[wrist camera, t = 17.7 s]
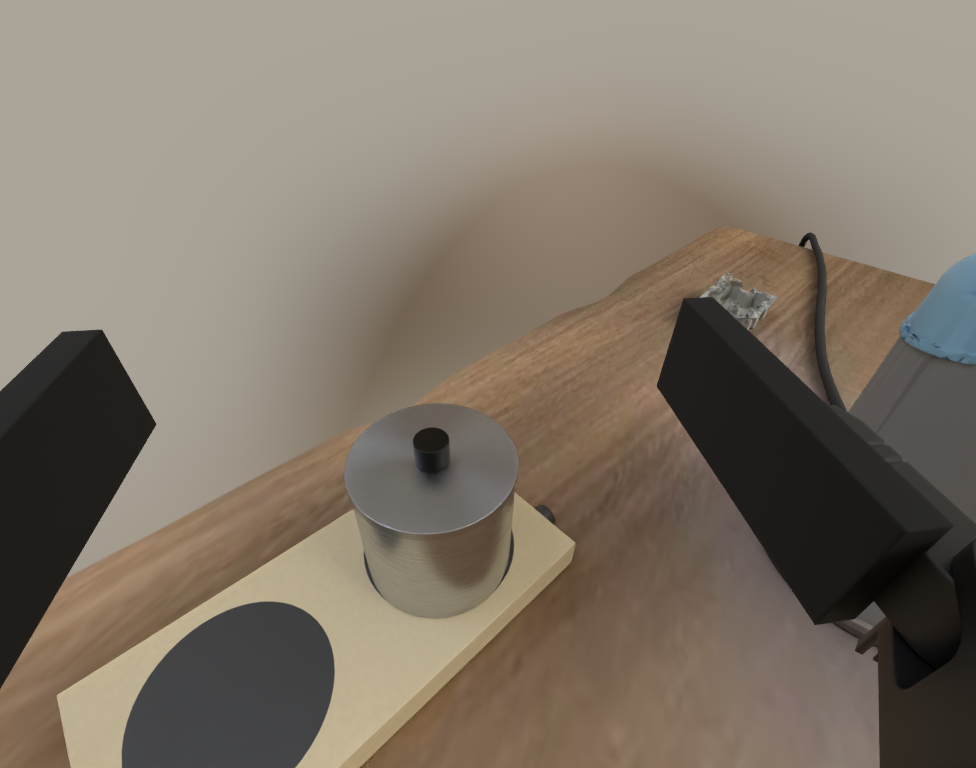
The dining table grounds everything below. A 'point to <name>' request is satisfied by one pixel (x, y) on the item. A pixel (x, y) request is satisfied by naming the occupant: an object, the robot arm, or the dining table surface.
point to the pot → (434, 506)
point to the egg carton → (740, 300)
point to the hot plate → (294, 662)
